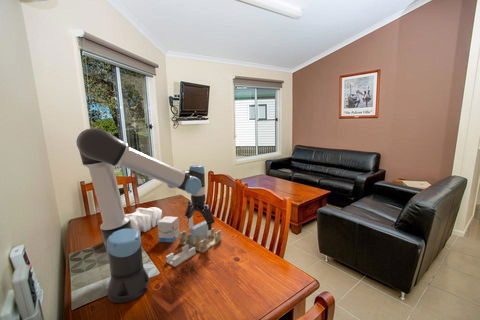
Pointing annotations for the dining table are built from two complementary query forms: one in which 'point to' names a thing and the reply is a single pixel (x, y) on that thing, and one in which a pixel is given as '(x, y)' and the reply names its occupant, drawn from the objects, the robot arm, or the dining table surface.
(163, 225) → the ink box
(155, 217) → the wavy white extrusion
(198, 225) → the pale blue slab
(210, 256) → the dining table surface
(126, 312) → the dining table surface
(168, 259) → the holder
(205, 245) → the rack
